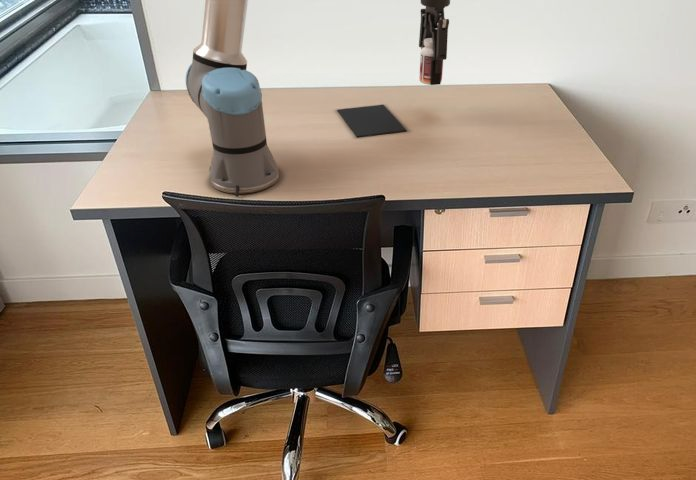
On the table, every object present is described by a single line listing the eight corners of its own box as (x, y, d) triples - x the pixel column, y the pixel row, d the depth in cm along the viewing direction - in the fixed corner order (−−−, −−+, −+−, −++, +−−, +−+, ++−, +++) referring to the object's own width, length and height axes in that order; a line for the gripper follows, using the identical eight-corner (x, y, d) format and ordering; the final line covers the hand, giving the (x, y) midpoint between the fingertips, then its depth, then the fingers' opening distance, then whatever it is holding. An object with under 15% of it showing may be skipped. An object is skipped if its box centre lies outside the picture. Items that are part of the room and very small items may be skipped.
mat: (406, 131, 158) (406, 129, 158) (356, 137, 154) (356, 136, 154) (383, 105, 173) (383, 104, 173) (337, 110, 170) (337, 109, 169)
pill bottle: (446, 82, 161) (449, 40, 155) (430, 87, 158) (433, 44, 151) (430, 76, 165) (432, 35, 158) (414, 81, 161) (416, 39, 155)
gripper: (465, -5, 141) (457, 90, 155) (435, -20, 156) (430, 69, 169) (437, -4, 139) (431, 92, 153) (408, -19, 154) (405, 70, 167)
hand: (430, 80), depth 161 cm, fingers closed on pill bottle, 6 cm apart
